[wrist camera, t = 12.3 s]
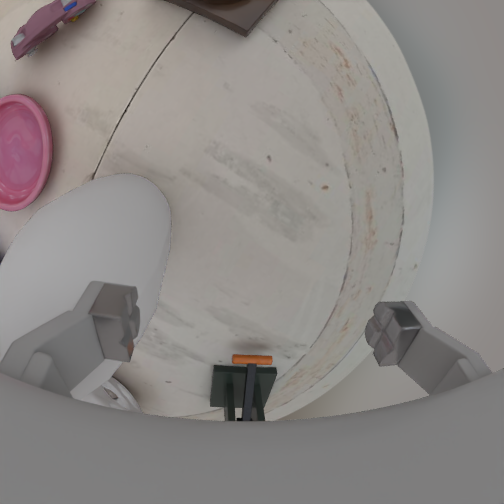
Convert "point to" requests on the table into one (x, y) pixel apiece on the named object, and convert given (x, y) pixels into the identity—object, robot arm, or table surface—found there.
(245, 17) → the button block
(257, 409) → the switch bracket
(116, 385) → the decorative ball
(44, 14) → the video game controller
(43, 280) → the bottle
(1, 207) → the saucer
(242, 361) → the switch lever
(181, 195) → the table surface
